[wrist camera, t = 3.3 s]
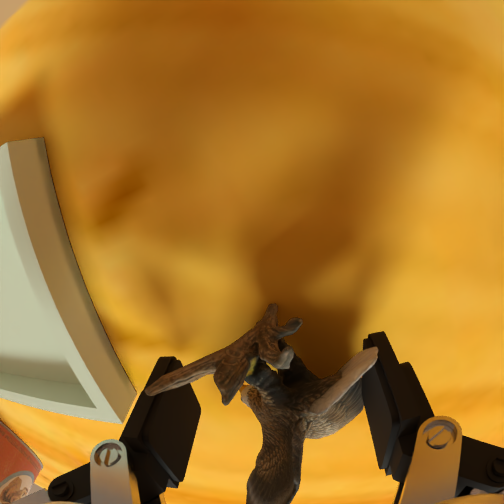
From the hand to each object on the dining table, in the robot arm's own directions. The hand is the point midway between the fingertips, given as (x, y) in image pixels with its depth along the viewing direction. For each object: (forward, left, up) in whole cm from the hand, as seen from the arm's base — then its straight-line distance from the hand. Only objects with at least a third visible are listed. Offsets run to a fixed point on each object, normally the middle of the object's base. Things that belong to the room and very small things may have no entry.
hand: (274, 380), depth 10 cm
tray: (+15, -4, -2) cm, 16 cm away
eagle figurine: (0, +2, -2) cm, 3 cm away
